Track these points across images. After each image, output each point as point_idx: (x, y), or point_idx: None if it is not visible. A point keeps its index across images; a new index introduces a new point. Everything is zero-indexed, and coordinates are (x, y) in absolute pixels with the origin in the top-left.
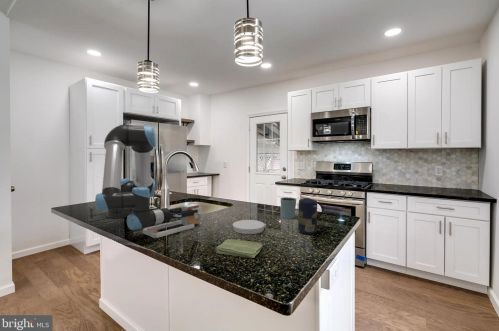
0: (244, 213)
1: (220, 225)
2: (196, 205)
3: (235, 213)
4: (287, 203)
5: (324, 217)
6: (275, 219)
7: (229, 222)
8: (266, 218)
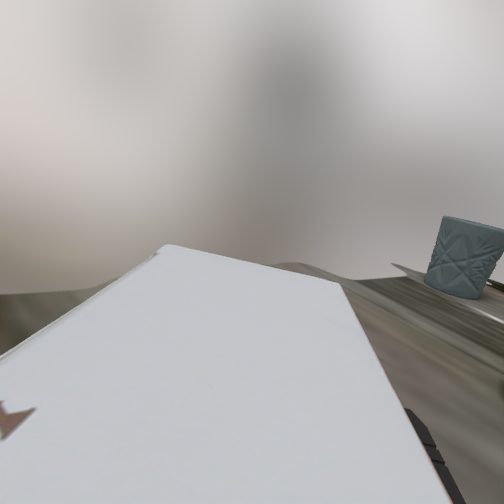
0: (299, 273)
1: (449, 463)
2: (350, 306)
3: None
4: (501, 243)
5: (499, 282)
6: (460, 307)
7: (399, 379)
8: (427, 303)
